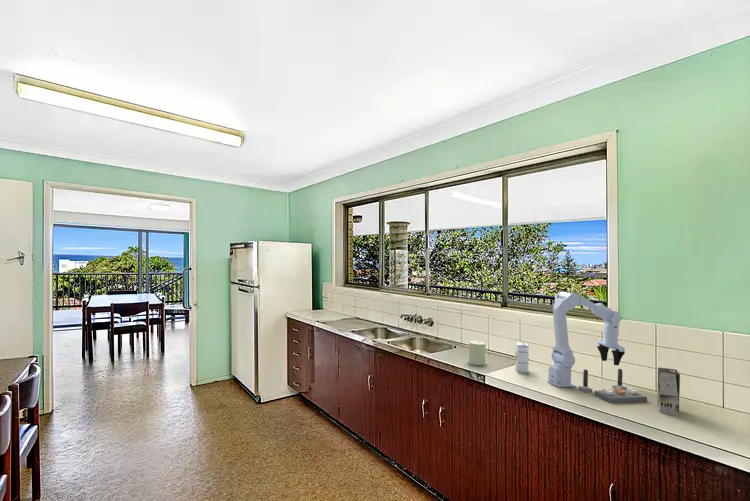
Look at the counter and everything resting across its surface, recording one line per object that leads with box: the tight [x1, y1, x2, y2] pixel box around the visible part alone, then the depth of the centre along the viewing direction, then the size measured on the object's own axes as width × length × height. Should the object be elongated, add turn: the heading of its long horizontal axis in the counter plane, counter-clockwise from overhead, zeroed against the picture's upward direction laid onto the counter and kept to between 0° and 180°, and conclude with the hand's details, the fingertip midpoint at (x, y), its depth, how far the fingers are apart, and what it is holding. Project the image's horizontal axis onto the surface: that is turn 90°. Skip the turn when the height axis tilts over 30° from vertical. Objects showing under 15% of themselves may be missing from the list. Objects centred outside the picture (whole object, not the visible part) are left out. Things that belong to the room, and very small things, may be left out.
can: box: [468, 340, 487, 366], centre depth 214 cm, size 9×9×12 cm
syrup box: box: [515, 342, 530, 373], centre depth 201 cm, size 6×6×14 cm
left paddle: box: [602, 387, 614, 395], centre depth 163 cm, size 2×3×2 cm
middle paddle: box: [614, 388, 626, 394], centre depth 164 cm, size 2×3×2 cm
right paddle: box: [626, 387, 639, 394], centre depth 165 cm, size 2×3×2 cm
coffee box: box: [656, 367, 681, 417], centre depth 152 cm, size 9×6×16 cm
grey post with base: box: [612, 368, 628, 390], centre depth 176 cm, size 4×4×10 cm
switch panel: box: [593, 389, 648, 404], centre depth 164 cm, size 18×9×2 cm, turn 100°
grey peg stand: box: [577, 369, 593, 393], centre depth 173 cm, size 4×4×10 cm
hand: (610, 362), depth 185 cm, fingers open, 7 cm apart
